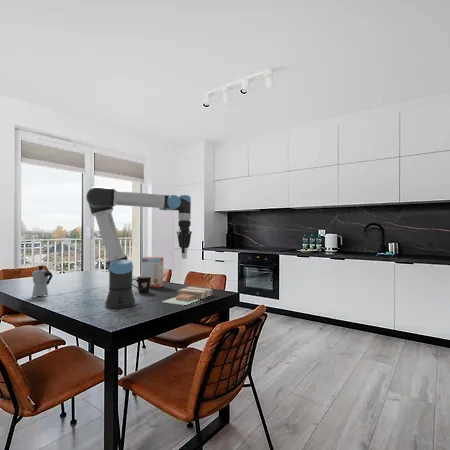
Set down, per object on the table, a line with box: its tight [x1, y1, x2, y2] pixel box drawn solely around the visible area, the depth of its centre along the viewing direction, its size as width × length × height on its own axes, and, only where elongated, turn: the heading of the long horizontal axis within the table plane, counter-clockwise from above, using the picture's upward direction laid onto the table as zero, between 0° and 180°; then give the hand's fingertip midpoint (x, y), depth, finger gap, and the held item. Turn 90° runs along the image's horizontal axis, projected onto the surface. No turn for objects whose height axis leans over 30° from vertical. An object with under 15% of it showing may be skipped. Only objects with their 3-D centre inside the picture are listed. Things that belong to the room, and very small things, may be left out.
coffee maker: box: [31, 265, 53, 297], centre depth 179 cm, size 15×9×18 cm, turn 73°
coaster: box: [175, 294, 195, 301], centre depth 173 cm, size 8×8×2 cm
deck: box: [177, 286, 213, 300], centre depth 183 cm, size 14×16×4 cm
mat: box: [161, 296, 201, 306], centre depth 170 cm, size 15×16×1 cm
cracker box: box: [141, 256, 164, 289], centre depth 213 cm, size 14×6×21 cm, turn 74°
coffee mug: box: [132, 275, 151, 294], centre depth 193 cm, size 12×9×10 cm
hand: (184, 258), depth 186 cm, fingers closed
